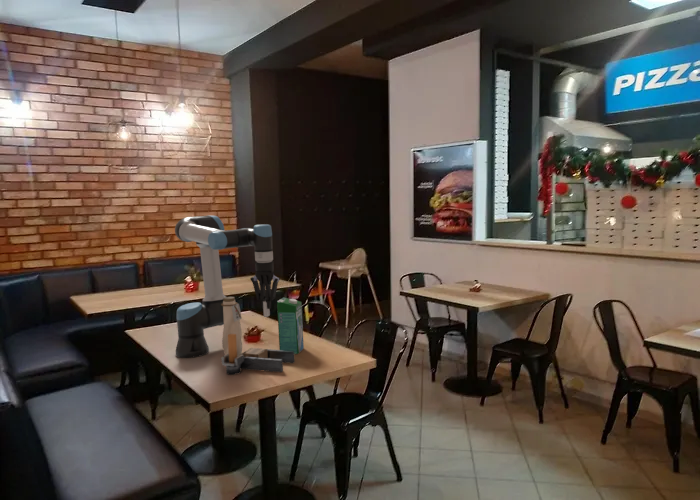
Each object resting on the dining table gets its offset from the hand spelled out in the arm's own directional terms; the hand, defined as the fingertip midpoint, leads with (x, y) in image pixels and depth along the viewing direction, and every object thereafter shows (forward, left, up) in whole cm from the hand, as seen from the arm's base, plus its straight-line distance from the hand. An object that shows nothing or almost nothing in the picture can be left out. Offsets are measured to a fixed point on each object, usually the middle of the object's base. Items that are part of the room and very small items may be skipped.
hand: (266, 316), depth 221 cm
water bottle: (-22, +8, -23) cm, 32 cm away
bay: (-3, +2, -22) cm, 23 cm away
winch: (-12, -9, -22) cm, 27 cm away
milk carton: (0, +23, -23) cm, 32 cm away
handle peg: (-12, -9, -18) cm, 24 cm away
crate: (-8, +2, -22) cm, 24 cm away
